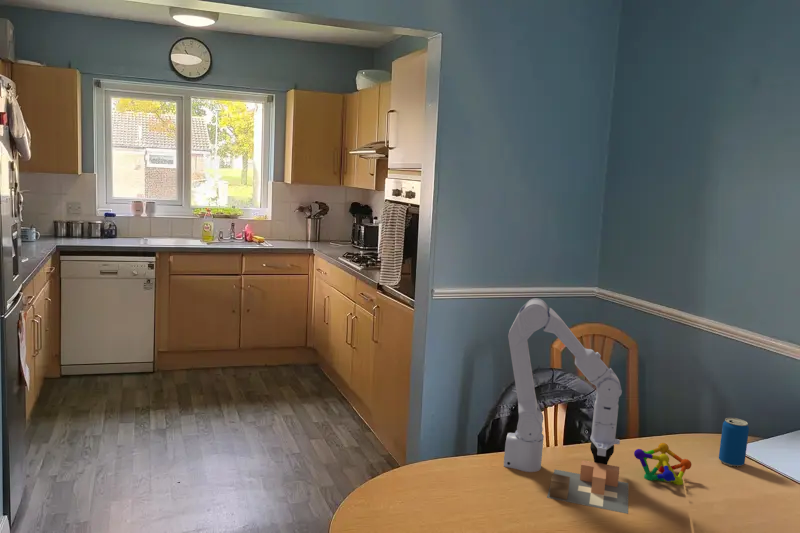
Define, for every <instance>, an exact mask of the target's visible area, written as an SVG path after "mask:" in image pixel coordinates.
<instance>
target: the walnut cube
mask: <svg viewBox="0 0 800 533" xmlns="http://www.w3.org/2000/svg"><path fill="white" fill-rule="evenodd" d="M551 475H552V476H551V478H550V485H549V488H550V496H549V497H554V498H559V499H564V500H567V497H568V492H569V482H570V477H568V476H563V475H557V474H554V473H552V474H551Z"/></svg>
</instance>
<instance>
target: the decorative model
mask: <svg viewBox="0 0 800 533" xmlns="http://www.w3.org/2000/svg"><path fill="white" fill-rule="evenodd" d="M659 452H660V453H661V454H659V455H657V454H656V453H659ZM666 453H667V454H668V455H669V456H671V457H672V458H673V459H675V460H676V461H677V462H679V463H678V464H674V465H671V464H670V463H669V462H670V457H669V456H668V455H667V454H666ZM633 455H634V457H635V458H636V459H637V460H639V462H640V464H641V466H642V468H643V471H644V476H643V478H644V479H645V480H647V481H653V482H654V481H659V482H666V483H667V482H668V483H671V484H672V483H673V484H674V485H677V486H682V485H684V480H683V477H684V474H685V472H686V470H689V469H691V467H692V462H691V460H690V459H688V458H683V459H682V457H681V456H679V455H677V454H676V453H674V452H673V451H672V450H670V449H669V445H668V444H667V443H665V442H661V443H659V444H658V447H656V448H653V449H651V450H648V451H646V450H643V449H640V448H637V449H635V450H634V451H633ZM647 459H650V460H655V461H657V463H656V465H655V466H654V467H653V469H652V470H650V468H649V464H648V461H647ZM678 469H680V471H679V473H678V475H677V474H676V473H675V470H678ZM658 472H659V473H658ZM657 473H658V474H657Z"/></svg>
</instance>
